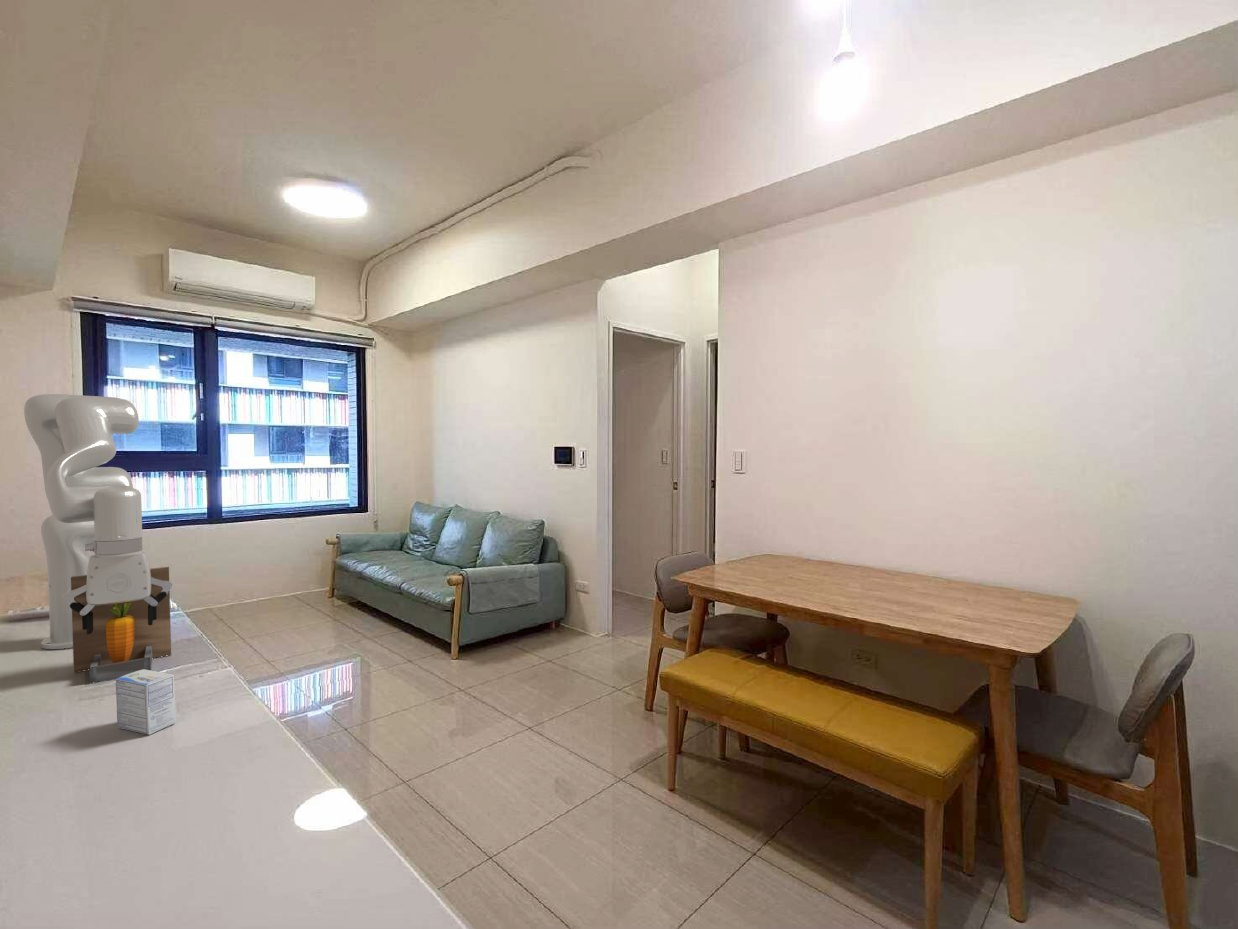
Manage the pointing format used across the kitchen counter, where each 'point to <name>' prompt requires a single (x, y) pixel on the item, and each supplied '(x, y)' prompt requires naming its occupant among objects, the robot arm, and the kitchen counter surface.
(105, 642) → the wall holder
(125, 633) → the carrot
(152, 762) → the kitchen counter surface
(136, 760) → the kitchen counter surface
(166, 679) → the medicine box
